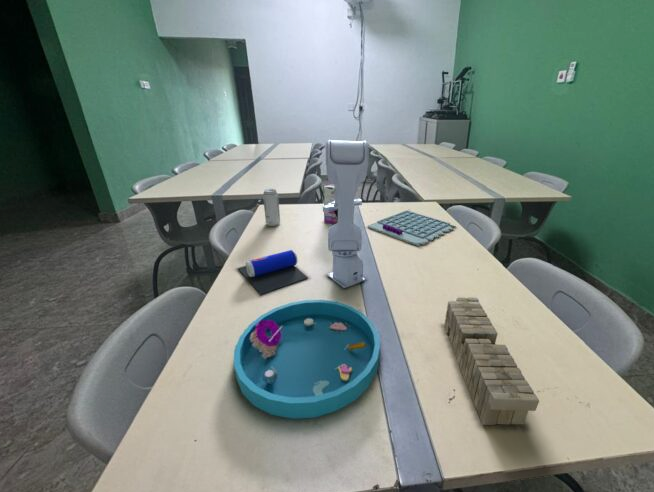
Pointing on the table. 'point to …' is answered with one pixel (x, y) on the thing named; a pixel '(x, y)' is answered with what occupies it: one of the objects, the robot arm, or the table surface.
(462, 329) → the block tower
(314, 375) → the round teal tray
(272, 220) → the energy drink can
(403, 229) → the calendar
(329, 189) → the candy bar box
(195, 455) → the table surface
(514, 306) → the table surface
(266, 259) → the beverage can
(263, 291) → the mat
